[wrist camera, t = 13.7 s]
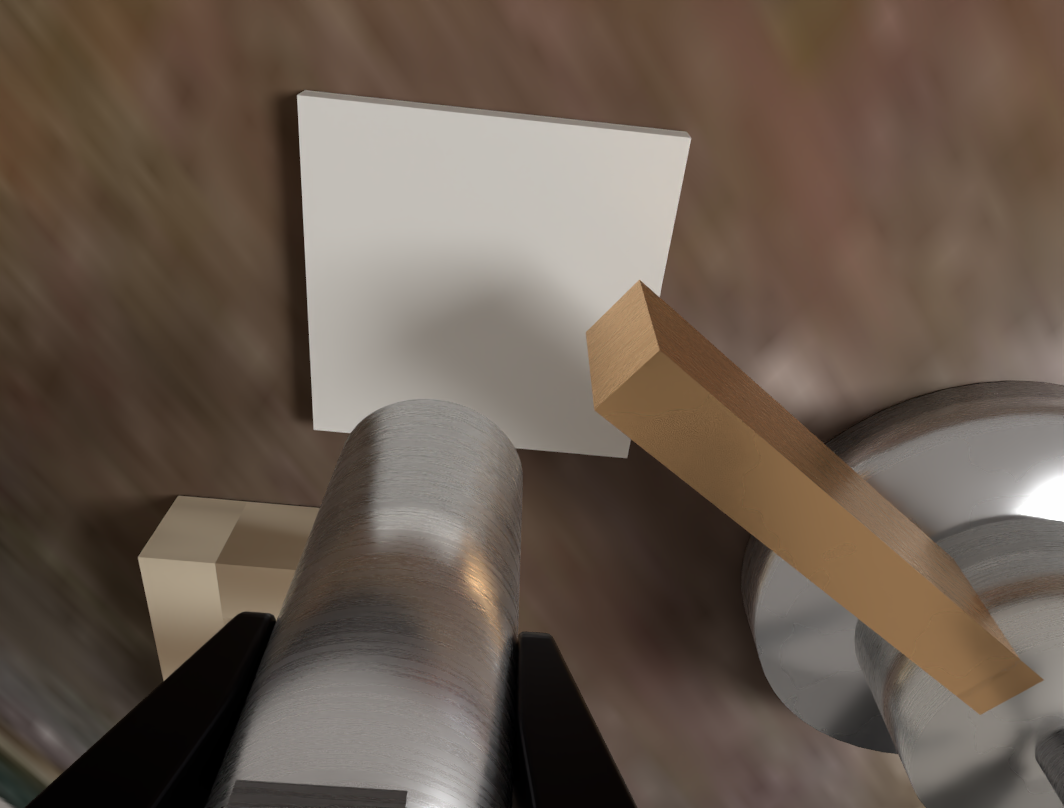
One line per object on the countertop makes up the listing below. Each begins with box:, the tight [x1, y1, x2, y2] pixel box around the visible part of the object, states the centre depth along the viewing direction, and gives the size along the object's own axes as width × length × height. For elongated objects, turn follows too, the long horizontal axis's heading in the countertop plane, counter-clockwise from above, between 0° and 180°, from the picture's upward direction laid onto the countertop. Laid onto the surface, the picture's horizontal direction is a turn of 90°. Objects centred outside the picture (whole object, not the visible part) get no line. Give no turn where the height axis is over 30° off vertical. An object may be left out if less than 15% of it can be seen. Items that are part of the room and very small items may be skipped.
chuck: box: [586, 280, 1064, 808], centre depth 15 cm, size 18×7×8 cm, turn 49°
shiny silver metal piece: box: [205, 399, 523, 808], centre depth 9 cm, size 5×3×8 cm, turn 174°
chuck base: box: [741, 381, 1064, 754], centre depth 22 cm, size 12×12×2 cm
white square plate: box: [297, 90, 691, 458], centre depth 18 cm, size 8×8×1 cm
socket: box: [138, 496, 320, 681], centre depth 23 cm, size 8×8×2 cm
